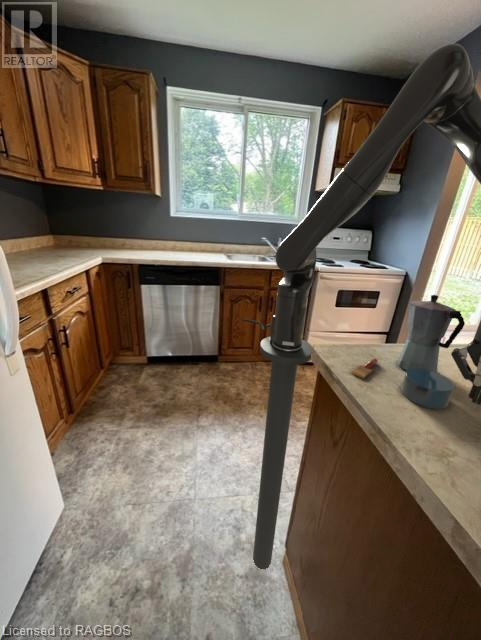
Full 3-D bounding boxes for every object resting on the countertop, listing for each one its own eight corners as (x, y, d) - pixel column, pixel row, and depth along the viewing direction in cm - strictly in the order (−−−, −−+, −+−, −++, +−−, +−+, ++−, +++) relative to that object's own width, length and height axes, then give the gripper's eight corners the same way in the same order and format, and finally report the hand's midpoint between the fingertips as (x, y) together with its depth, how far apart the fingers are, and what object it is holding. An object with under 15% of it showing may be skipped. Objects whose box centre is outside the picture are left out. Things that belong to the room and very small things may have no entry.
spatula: (363, 378, 66) (364, 373, 66) (351, 373, 68) (352, 368, 68) (380, 364, 74) (381, 360, 73) (369, 360, 76) (370, 355, 75)
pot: (392, 397, 60) (397, 379, 58) (409, 378, 68) (414, 362, 66) (440, 418, 54) (447, 399, 52) (453, 394, 62) (459, 377, 60)
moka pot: (408, 354, 80) (427, 288, 73) (459, 383, 67) (489, 305, 60) (381, 356, 78) (399, 289, 71) (429, 387, 64) (456, 306, 57)
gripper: (563, 326, 46) (522, 410, 52) (466, 307, 55) (441, 381, 61) (567, 338, 41) (521, 429, 47) (459, 314, 50) (432, 394, 56)
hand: (476, 401), depth 54 cm, fingers closed
